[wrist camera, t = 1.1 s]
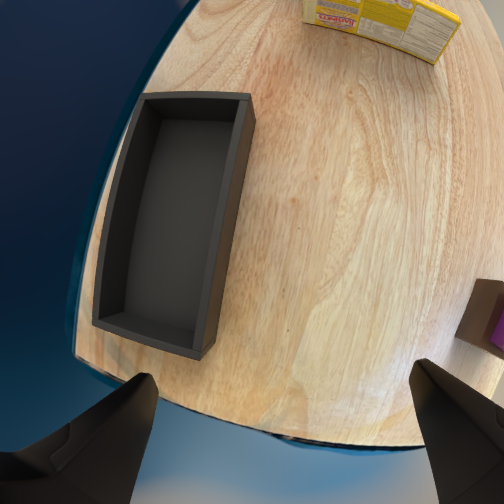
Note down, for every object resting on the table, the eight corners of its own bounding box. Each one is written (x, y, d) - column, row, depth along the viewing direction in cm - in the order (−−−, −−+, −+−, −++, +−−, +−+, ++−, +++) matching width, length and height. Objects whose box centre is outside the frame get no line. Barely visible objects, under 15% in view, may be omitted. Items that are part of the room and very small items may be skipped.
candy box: (433, 55, 20) (459, 15, 12) (434, 66, 20) (463, 26, 12) (304, 13, 22) (306, -38, 14) (301, 23, 22) (303, -31, 14)
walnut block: (485, 351, 19) (507, 361, 15) (454, 336, 20) (477, 346, 16) (505, 299, 19) (529, 303, 15) (476, 278, 20) (502, 280, 16)
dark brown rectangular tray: (215, 343, 22) (200, 361, 18) (119, 315, 23) (91, 325, 19) (256, 120, 22) (250, 93, 18) (160, 115, 23) (140, 93, 19)
